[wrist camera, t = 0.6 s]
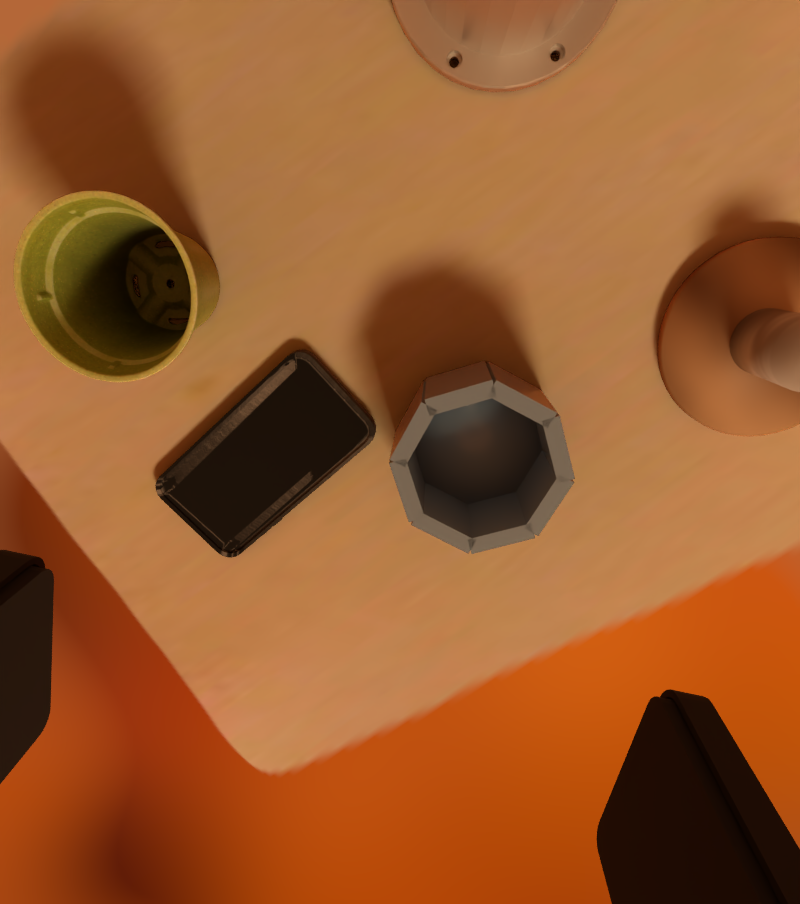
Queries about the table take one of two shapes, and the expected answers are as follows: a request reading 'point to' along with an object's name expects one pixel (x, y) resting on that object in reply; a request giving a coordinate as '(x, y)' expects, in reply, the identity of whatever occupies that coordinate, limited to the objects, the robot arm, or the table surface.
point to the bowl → (480, 458)
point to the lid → (737, 339)
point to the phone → (266, 454)
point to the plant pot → (111, 285)
